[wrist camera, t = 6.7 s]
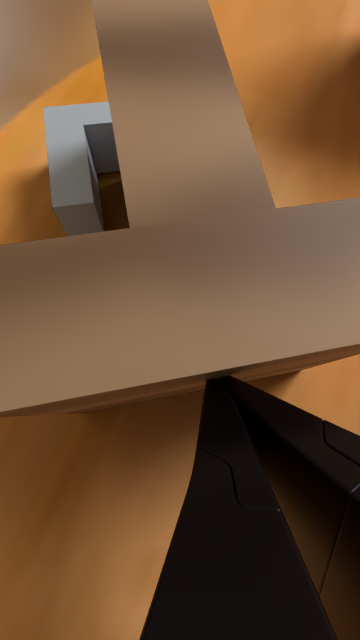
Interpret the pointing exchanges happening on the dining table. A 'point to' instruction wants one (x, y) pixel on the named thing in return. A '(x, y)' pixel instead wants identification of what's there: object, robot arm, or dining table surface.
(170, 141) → the tee block
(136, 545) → the dining table surface
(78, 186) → the stop bracket
